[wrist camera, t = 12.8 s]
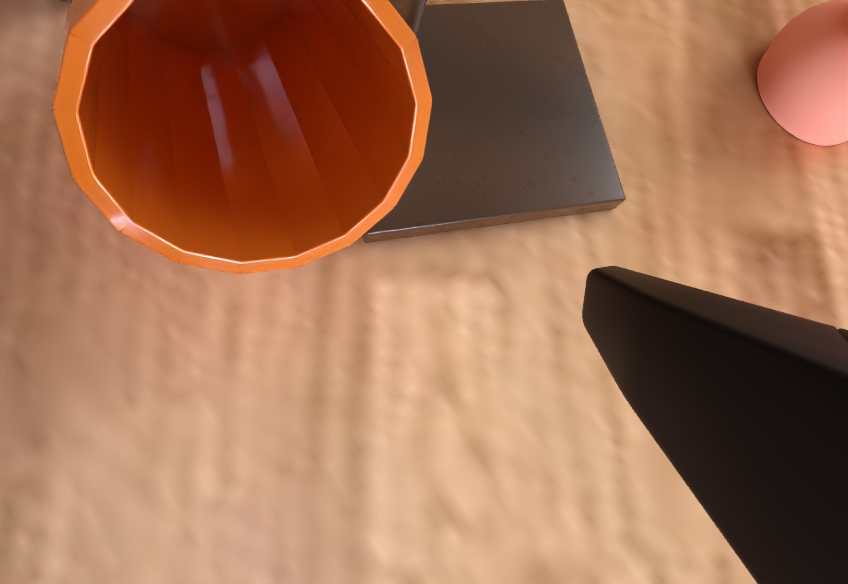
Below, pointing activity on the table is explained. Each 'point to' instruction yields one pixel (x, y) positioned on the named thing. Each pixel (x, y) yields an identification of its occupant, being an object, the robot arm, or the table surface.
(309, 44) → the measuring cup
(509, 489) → the table surface
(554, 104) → the hook stand
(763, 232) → the table surface
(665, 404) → the robot arm
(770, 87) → the pottery
